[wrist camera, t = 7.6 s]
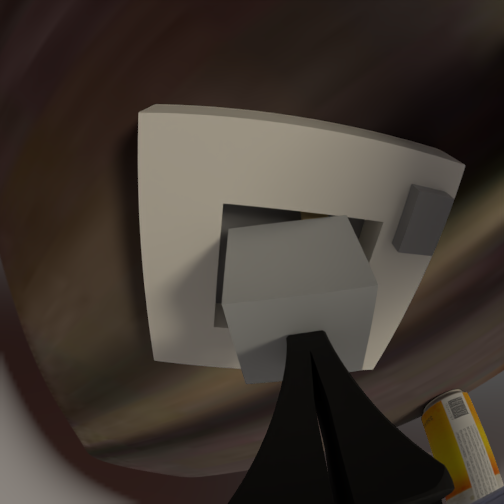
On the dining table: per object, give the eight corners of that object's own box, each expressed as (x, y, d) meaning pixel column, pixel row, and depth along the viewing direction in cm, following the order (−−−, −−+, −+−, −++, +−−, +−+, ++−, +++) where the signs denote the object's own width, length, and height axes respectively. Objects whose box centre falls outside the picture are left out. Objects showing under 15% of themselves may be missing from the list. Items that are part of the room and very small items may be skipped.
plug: (337, 197, 15) (378, 285, 10) (336, 278, 18) (362, 369, 13) (230, 210, 15) (221, 304, 10) (246, 289, 18) (246, 384, 13)
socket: (439, 149, 14) (475, 171, 11) (363, 342, 22) (376, 378, 19) (155, 104, 13) (131, 115, 10) (161, 331, 20) (151, 371, 18)
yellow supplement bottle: (416, 421, 31) (447, 528, 18) (422, 399, 28) (460, 523, 15) (460, 403, 30) (496, 504, 17) (470, 379, 27) (516, 493, 14)
